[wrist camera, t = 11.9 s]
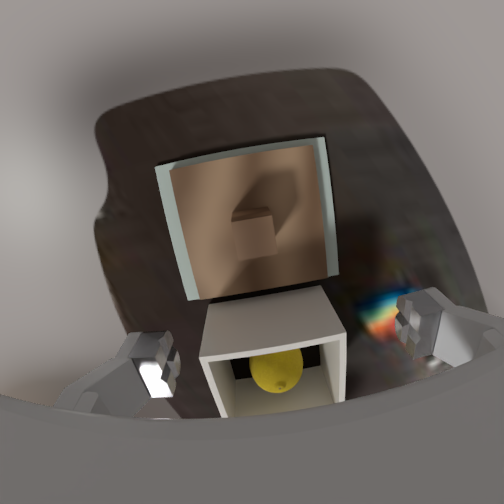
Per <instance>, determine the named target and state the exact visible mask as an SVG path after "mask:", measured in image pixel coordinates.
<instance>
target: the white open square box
mask: <svg viewBox="0 0 504 504" xmlns="http://www.w3.org/2000/svg"><path fill="white" fill-rule="evenodd" d="M318 344H319V346H320V366H315V367H311V368H306V369H303V371H302V375H301V378H300V380H299V381H298V383H297V384H296V385H295V386H294V387H293V388H291V389H290V390H288V391H285V392H282V393H271V392H268V391H265V390H263V389H262V388H261V387H260V386H258V385H257V383H256V382H255V380H254V379H253V378H246V379H238V380H236V379H235V376H234V373H233V369H232V366H231V362H230V359H236V358H243V357H250V356H257V355H263V354H269V353H275V352H281V351H287V350H292V349H298V348H303V347H308V346H313V345H318ZM199 359H200V362H201V365H202V367H203V370H204V373H205V376H206V378H207V381H208V384H209V386H210V389H211V392H212V394H213V397H214V399H215V402H216V404H217V407H218V409H219V412H220V414H221V417H222V418H228V417H242V416H253V415H263V414H272V413H280V412H287V411H294V410H300V409H306V408H312V407H318V406H323V405H328V404H333V403H338V402H342V401H345V384H346V330H345V329H344V327H343V325H342V323H341V321H340V319H339V318H338V316H337V314H336V312H335V310H334V308H333V307H332V305H331V303H330V301H329V299H328V298H327V296H326V294H325V292H324V290H323V289H322V287H321V285H318V286H313V287H308V288H302V289H297V290H291V291H286V292H280V293H275V294H269V295H263V296H257V297H251V298H245V299H239V300H233V301H226V302H220V303H213V304H209V306H208V311H207V317H206V322H205V327H204V332H203V338H202V343H201V349H200V354H199Z"/></svg>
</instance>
